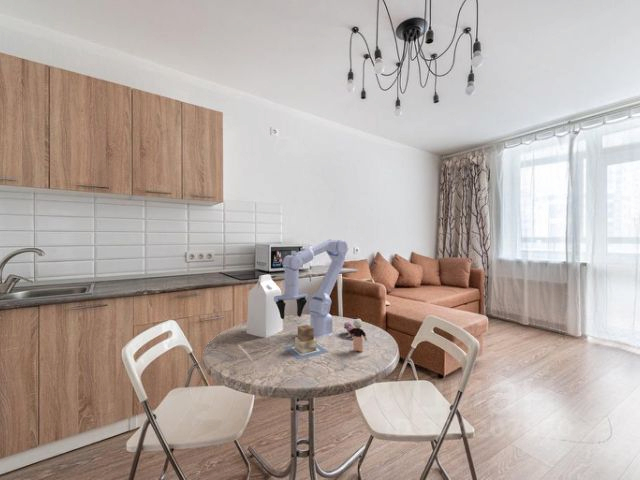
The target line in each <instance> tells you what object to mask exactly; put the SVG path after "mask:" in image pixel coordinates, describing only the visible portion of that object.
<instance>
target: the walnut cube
mask: <svg viewBox="0 0 640 480" xmlns="http://www.w3.org/2000/svg"><path fill="white" fill-rule="evenodd" d="M297 338H298V339H299V340H301V341H302V342H306V341H311V340H314V339H315V337H314V328H313V327H311V326H310V325H309V324H306V325H301V326H297Z"/></svg>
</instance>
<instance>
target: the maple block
mask: <svg viewBox="0 0 640 480" xmlns="http://www.w3.org/2000/svg"><path fill="white" fill-rule="evenodd" d="M316 344H317V339H316V338H314V340H311V341H306V342H302V341H301V340H299V339H298V337H295V338H294V345H295V349H297V350H298V351H299V352H300V353H302V354H304V353H308V352H312V351H316Z"/></svg>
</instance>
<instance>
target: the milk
mask: <svg viewBox="0 0 640 480" xmlns="http://www.w3.org/2000/svg"><path fill="white" fill-rule="evenodd" d="M279 295H282V291H281V288H280V286H279V285H277V284H276V282H275V281H274V280H273V278H272V275H271V274H264V275H259V276H258V280H257V282H256V284H255V285H254V286H253V287H252V288H251V289H250V290H249V292H248V302H247V319H246V321H247V322H246V334H249V335H251V336H256V337H260V338H264V339H267V338H269V337H272V336H274V335H276V334H277V333H278V334H279V333H280V332H282V331H284V319H281V317H280V312H279V309H278V306H277V304H276V302H275V301H274V296H279Z"/></svg>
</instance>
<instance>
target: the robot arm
mask: <svg viewBox="0 0 640 480" xmlns="http://www.w3.org/2000/svg"><path fill="white" fill-rule="evenodd" d="M348 250H349V247H348V243H347V242H346V240H344V239H327V240H323V242H321V243H319V244H318V245H316V246H314V247H312V248H308V247H307V248H306V247H302V248H301V250H300V251H297V252H292V255H291V254H290V255H288V254H287V255H286V256H285V257H284V258H283V261H282V262H281V265H282V267H283V271H284V294H281V295H279V296H274V301H275V302H276V304H277V306H278V309H279V312H280V317H281V319H283V320H285V309H286V302H285V301H293V300H294V301H295V300H296V307H297V308H296V315H297V317H299V318H301V317H302V313H303V309H304V307H305V306H306V308H307V310H308V311H309V314H310V316H309V317H310V325H309V326H311V327H313V328H314V339H316V338H320V337H324V336H330V335H333V334H334V333H333V317H332V315H331V314H330V311H331V305H332V299H331V297H330V296H331V294H332V291H333V289H334V287H335V284H336V282H337V280H338V278H339V274H340V273H341V271H342V268H343V266H344V264H345V260H346V256H347V255H346V254H347V253H348ZM325 252H326V254H327V255H328V257H329V258H330V259H331V262H330V265H329V267H328V269H327V271H326V273H325V276H324V278H323V280H322V283H320V284H321V285H320V287H319V288H318V291H317V292H314V293H313V294H312V297H311V298H310V299H309V300H307V299H308V298H309V293H305V292H304V293H303V292H302V293H299V274H300V272H299V270H300V269H301V267H302V266H303V265H306V264H307V263H309V262H311V261H313V260H314V257H315V256H317V255H320V254H322V253H325Z"/></svg>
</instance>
